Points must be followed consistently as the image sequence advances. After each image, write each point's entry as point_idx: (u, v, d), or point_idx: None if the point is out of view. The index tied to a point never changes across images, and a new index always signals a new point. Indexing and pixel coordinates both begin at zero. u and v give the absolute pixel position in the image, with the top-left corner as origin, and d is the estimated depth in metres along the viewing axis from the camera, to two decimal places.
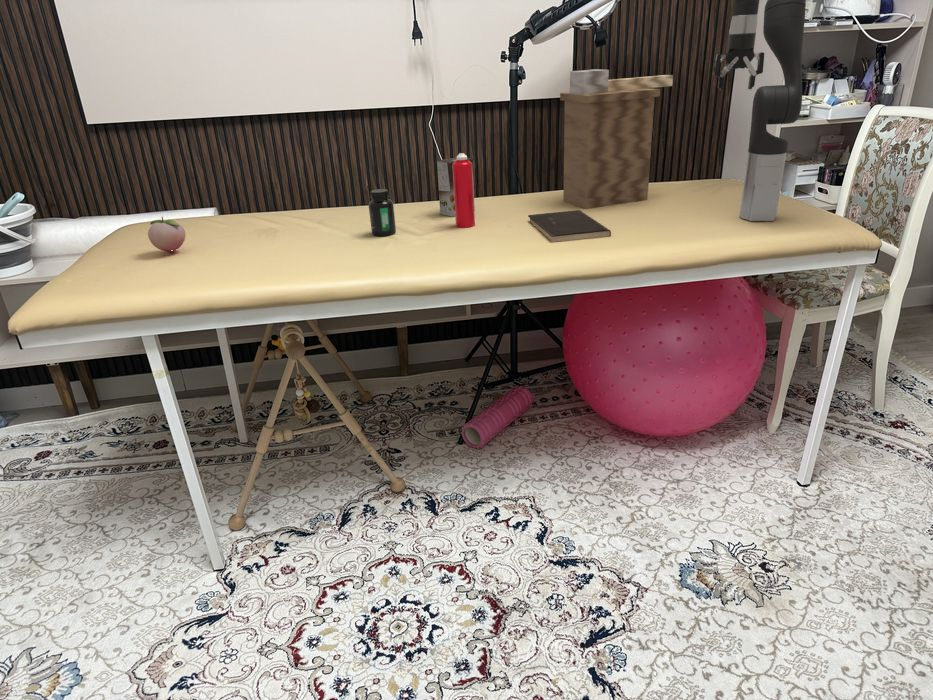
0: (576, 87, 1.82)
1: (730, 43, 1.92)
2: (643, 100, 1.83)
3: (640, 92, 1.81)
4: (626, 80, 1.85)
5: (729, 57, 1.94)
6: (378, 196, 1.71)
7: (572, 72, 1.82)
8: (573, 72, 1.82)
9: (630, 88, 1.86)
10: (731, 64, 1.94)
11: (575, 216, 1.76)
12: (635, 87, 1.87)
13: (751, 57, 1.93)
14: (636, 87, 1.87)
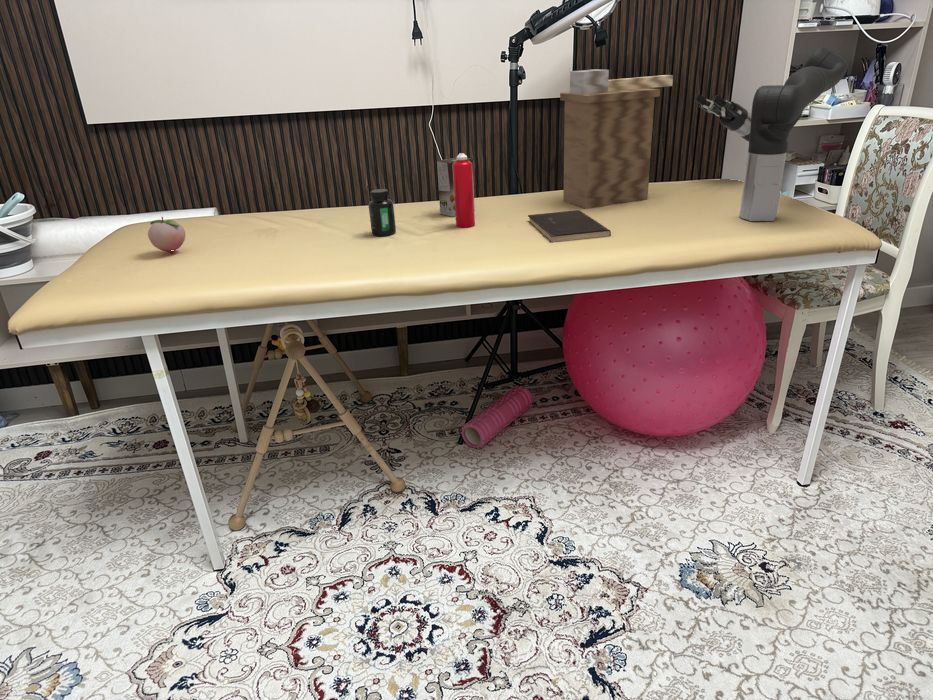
0: (576, 87, 1.82)
1: None
2: (643, 100, 1.83)
3: (640, 92, 1.81)
4: (626, 80, 1.85)
5: None
6: (378, 196, 1.71)
7: (572, 72, 1.82)
8: (573, 72, 1.82)
9: (630, 88, 1.86)
10: None
11: (575, 216, 1.76)
12: (635, 87, 1.87)
13: (733, 107, 1.99)
14: (636, 87, 1.87)
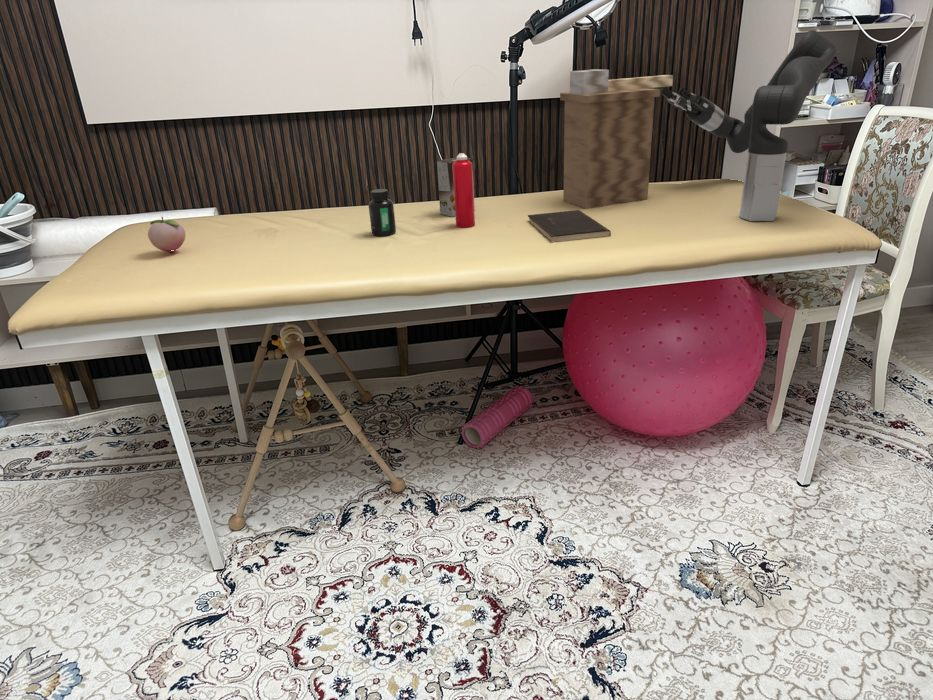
0: (576, 87, 1.82)
1: None
2: (643, 100, 1.83)
3: (640, 92, 1.81)
4: (626, 80, 1.85)
5: None
6: (378, 196, 1.71)
7: (572, 72, 1.82)
8: (573, 72, 1.82)
9: (630, 88, 1.86)
10: None
11: (575, 216, 1.76)
12: (635, 87, 1.87)
13: None
14: (636, 87, 1.87)
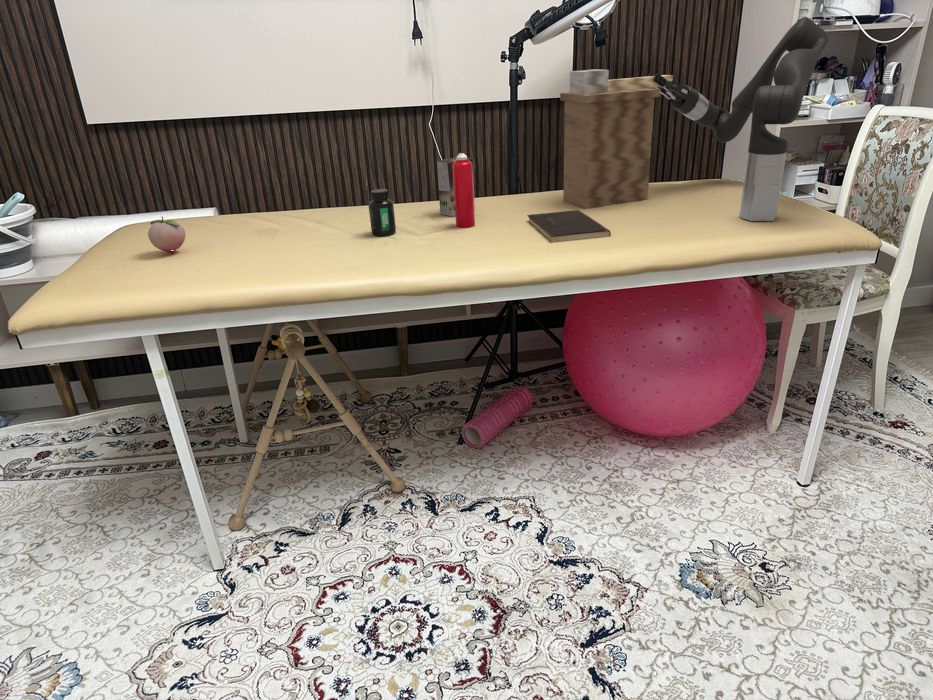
0: (575, 87, 1.82)
1: None
2: (643, 100, 1.83)
3: (640, 92, 1.81)
4: (626, 80, 1.85)
5: None
6: (378, 196, 1.71)
7: (572, 72, 1.82)
8: (573, 72, 1.82)
9: (630, 88, 1.86)
10: None
11: (574, 216, 1.76)
12: (635, 87, 1.87)
13: None
14: (636, 87, 1.87)
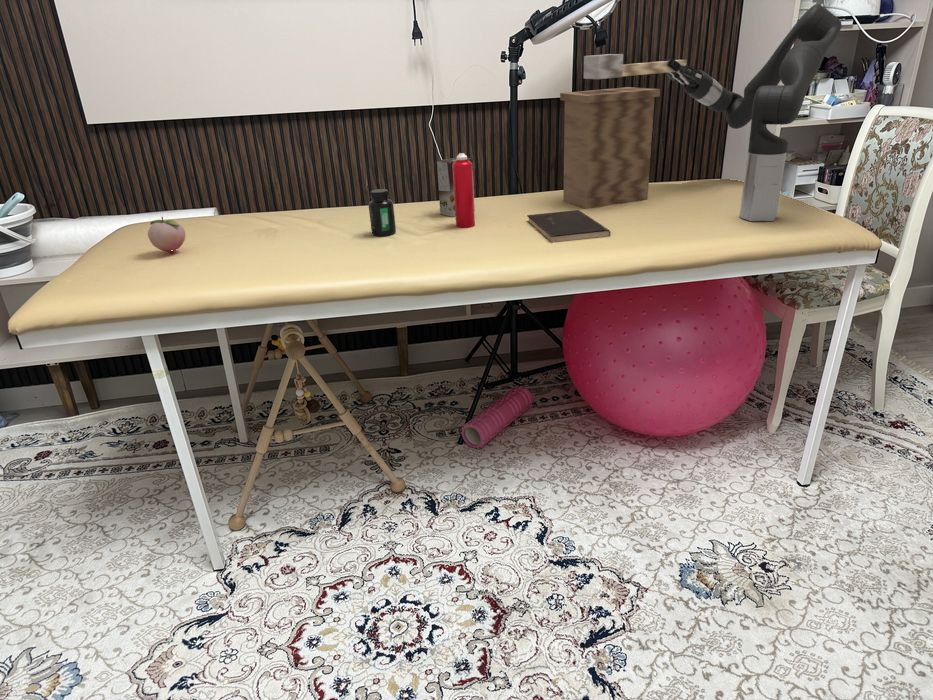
0: (590, 71, 1.82)
1: None
2: (643, 100, 1.83)
3: (640, 92, 1.81)
4: (640, 65, 1.84)
5: None
6: (378, 196, 1.71)
7: (586, 57, 1.82)
8: (587, 57, 1.81)
9: (644, 73, 1.86)
10: None
11: (574, 216, 1.76)
12: (649, 72, 1.86)
13: None
14: (650, 72, 1.86)
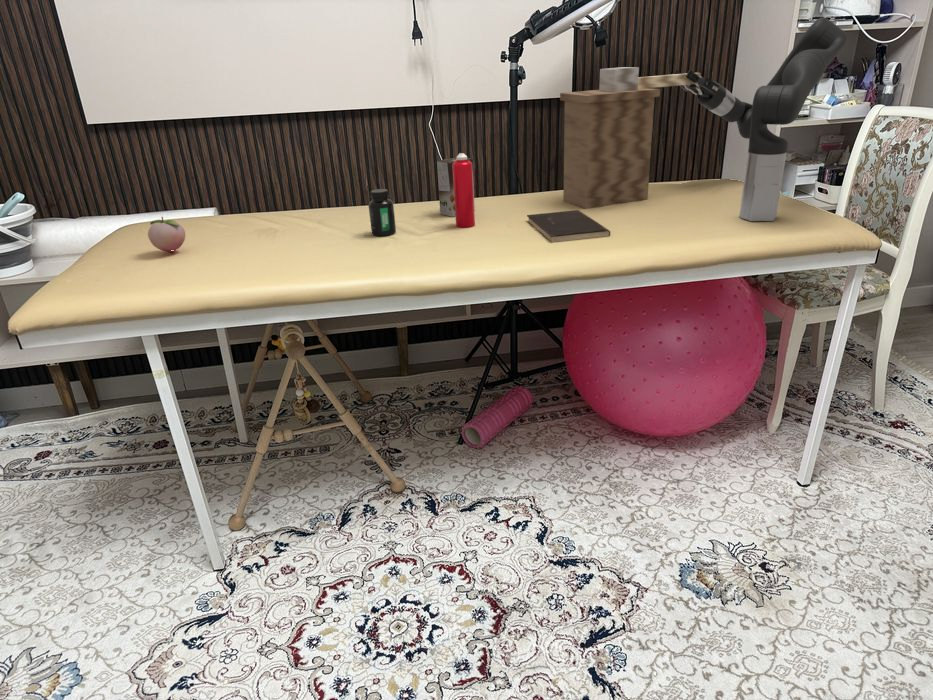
0: (606, 84, 1.85)
1: None
2: (643, 100, 1.83)
3: (640, 92, 1.81)
4: (655, 78, 1.88)
5: None
6: (378, 196, 1.71)
7: (602, 70, 1.85)
8: (603, 70, 1.85)
9: (659, 85, 1.89)
10: None
11: (574, 216, 1.76)
12: (663, 84, 1.90)
13: None
14: (664, 84, 1.90)
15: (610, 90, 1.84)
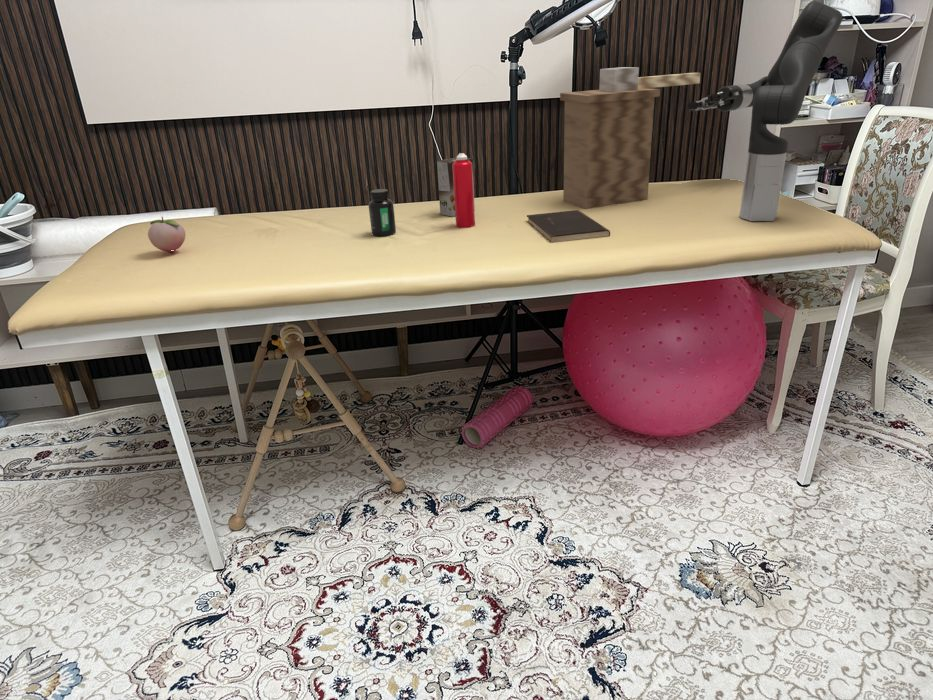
0: (606, 84, 1.85)
1: None
2: (643, 100, 1.83)
3: (640, 92, 1.81)
4: (655, 78, 1.88)
5: None
6: (378, 196, 1.71)
7: (602, 70, 1.85)
8: (603, 70, 1.85)
9: (659, 85, 1.89)
10: (708, 97, 2.00)
11: (574, 216, 1.76)
12: (663, 84, 1.90)
13: None
14: (664, 84, 1.90)
15: (610, 90, 1.84)
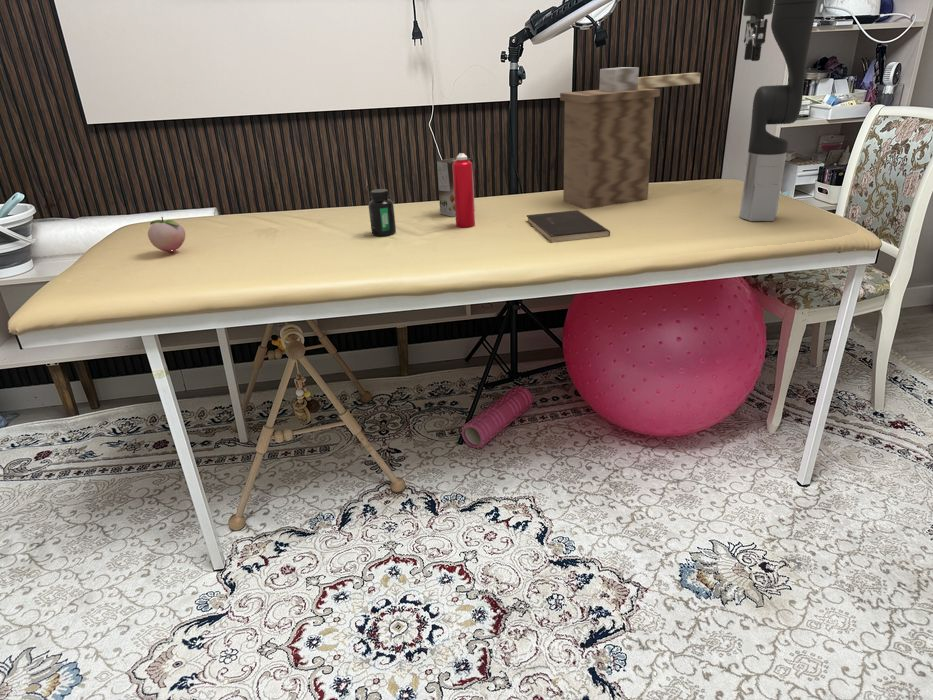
0: (606, 84, 1.85)
1: None
2: (643, 100, 1.83)
3: (640, 92, 1.81)
4: (655, 78, 1.88)
5: None
6: (378, 196, 1.71)
7: (602, 70, 1.85)
8: (603, 70, 1.85)
9: (659, 85, 1.89)
10: (746, 31, 1.81)
11: (573, 216, 1.76)
12: (663, 84, 1.90)
13: (754, 24, 1.75)
14: (664, 84, 1.90)
15: (610, 90, 1.84)
